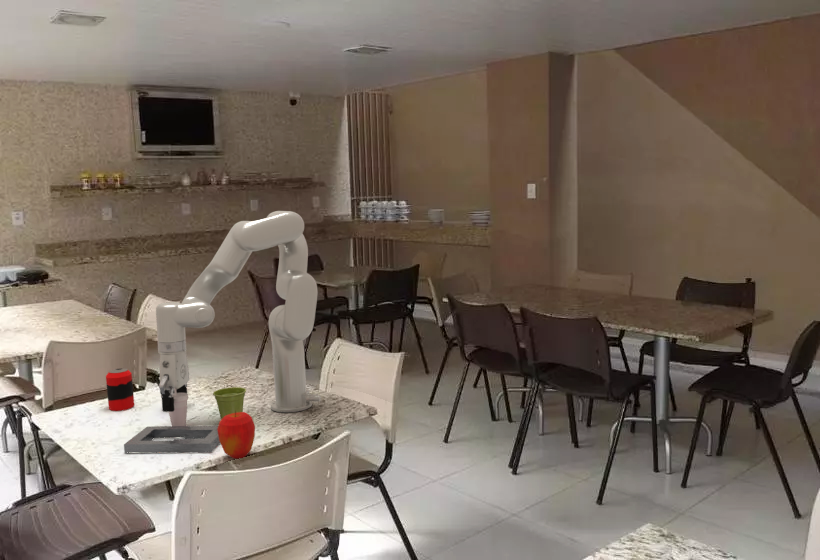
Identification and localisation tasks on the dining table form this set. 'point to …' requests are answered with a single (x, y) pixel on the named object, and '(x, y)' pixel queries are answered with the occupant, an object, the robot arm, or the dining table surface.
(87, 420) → the dining table surface
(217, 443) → the keyhole plate
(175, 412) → the smoothie
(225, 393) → the plant pot
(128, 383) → the soda can
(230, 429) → the apple
